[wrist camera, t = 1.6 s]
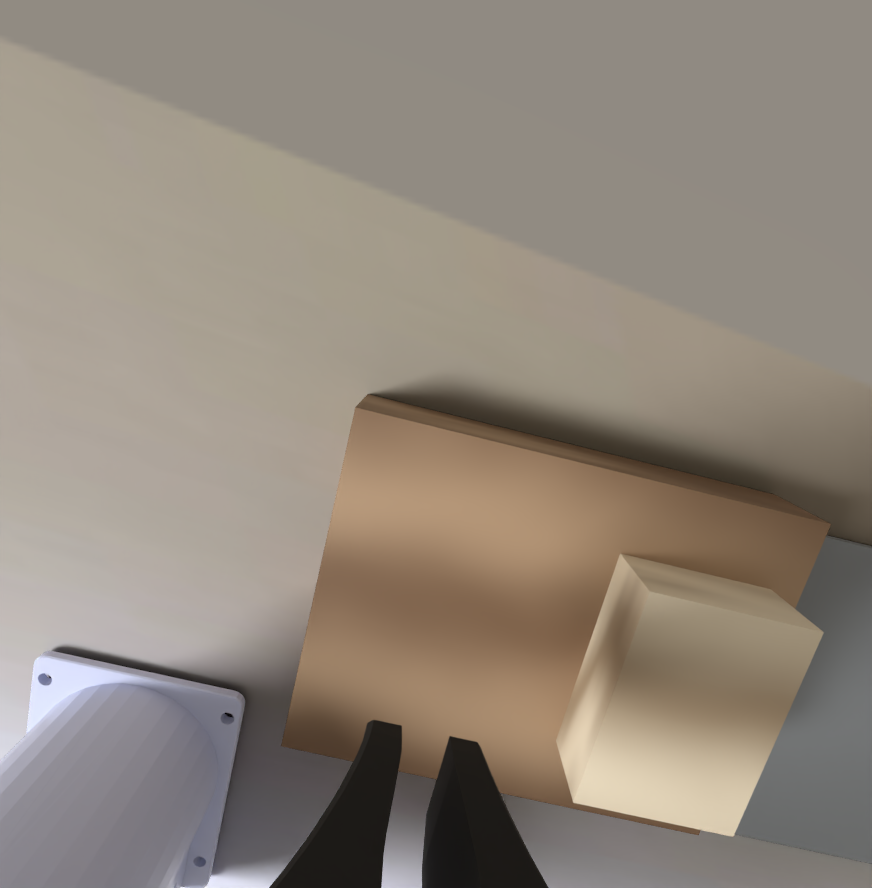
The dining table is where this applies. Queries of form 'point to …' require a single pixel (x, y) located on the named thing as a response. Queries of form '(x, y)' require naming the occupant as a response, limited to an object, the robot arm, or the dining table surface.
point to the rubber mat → (826, 722)
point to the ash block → (682, 695)
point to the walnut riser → (500, 584)
